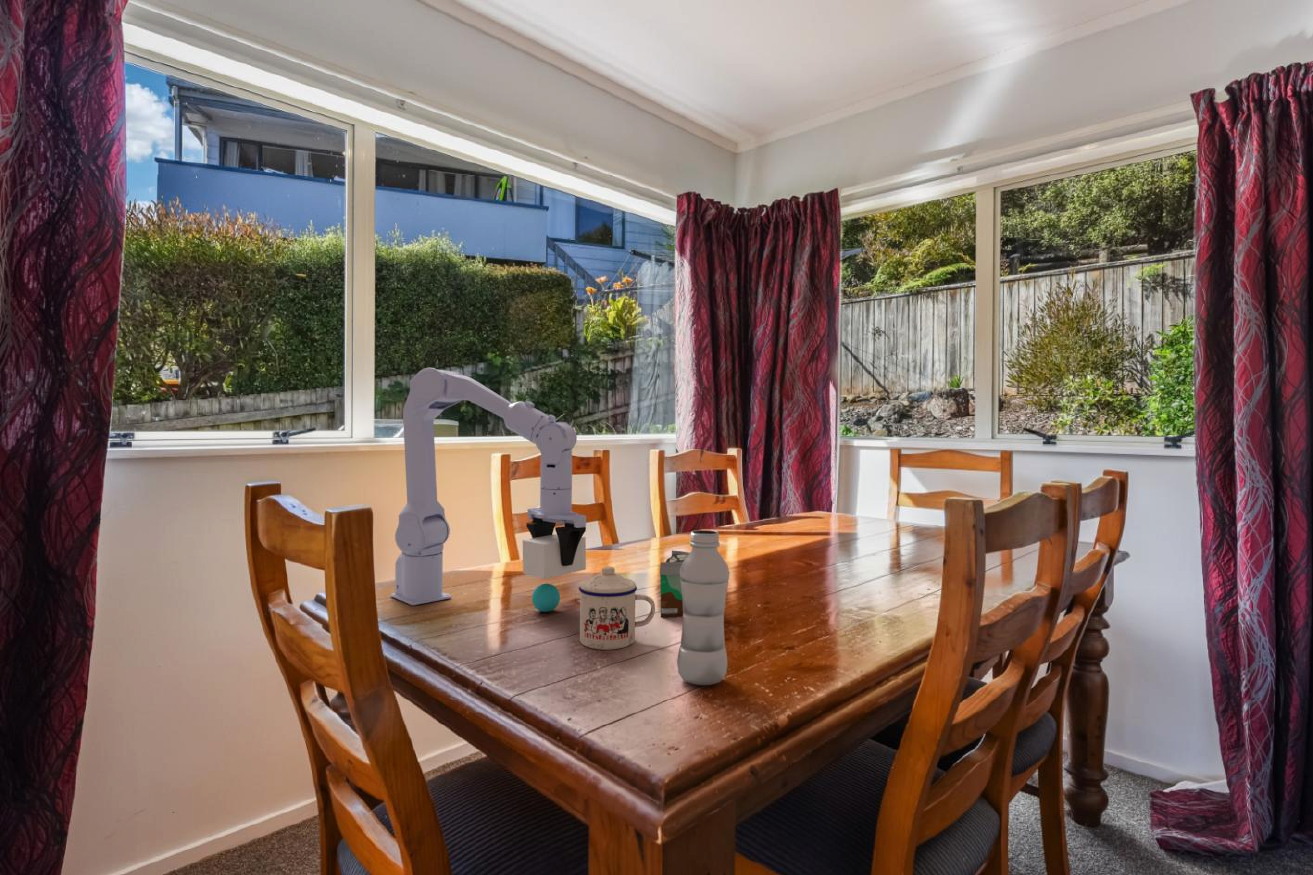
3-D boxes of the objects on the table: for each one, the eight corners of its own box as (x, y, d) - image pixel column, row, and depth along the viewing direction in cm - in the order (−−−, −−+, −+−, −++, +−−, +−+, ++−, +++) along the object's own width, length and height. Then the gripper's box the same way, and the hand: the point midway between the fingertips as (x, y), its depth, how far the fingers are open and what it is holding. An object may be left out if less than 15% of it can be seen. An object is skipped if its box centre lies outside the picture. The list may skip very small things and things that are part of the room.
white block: (523, 573, 120) (522, 540, 120) (564, 564, 127) (564, 532, 127) (544, 579, 116) (544, 544, 116) (585, 569, 123) (585, 536, 123)
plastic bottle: (674, 673, 91) (676, 528, 91) (722, 672, 92) (725, 528, 92) (679, 692, 85) (682, 536, 85) (732, 691, 86) (734, 536, 85)
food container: (693, 622, 115) (694, 564, 115) (659, 619, 116) (659, 562, 116) (703, 603, 127) (704, 551, 127) (671, 601, 128) (672, 549, 128)
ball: (544, 576, 123) (553, 598, 124) (522, 590, 120) (532, 613, 121) (560, 581, 119) (569, 604, 121) (538, 596, 116) (547, 620, 118)
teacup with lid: (576, 651, 100) (577, 574, 99) (580, 632, 109) (580, 561, 108) (656, 651, 100) (657, 574, 100) (653, 632, 109) (654, 561, 109)
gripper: (514, 486, 123) (513, 559, 124) (564, 492, 114) (563, 572, 114) (544, 484, 129) (544, 554, 129) (595, 490, 119) (594, 565, 119)
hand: (555, 562), depth 122 cm, fingers closed on white block, 6 cm apart
